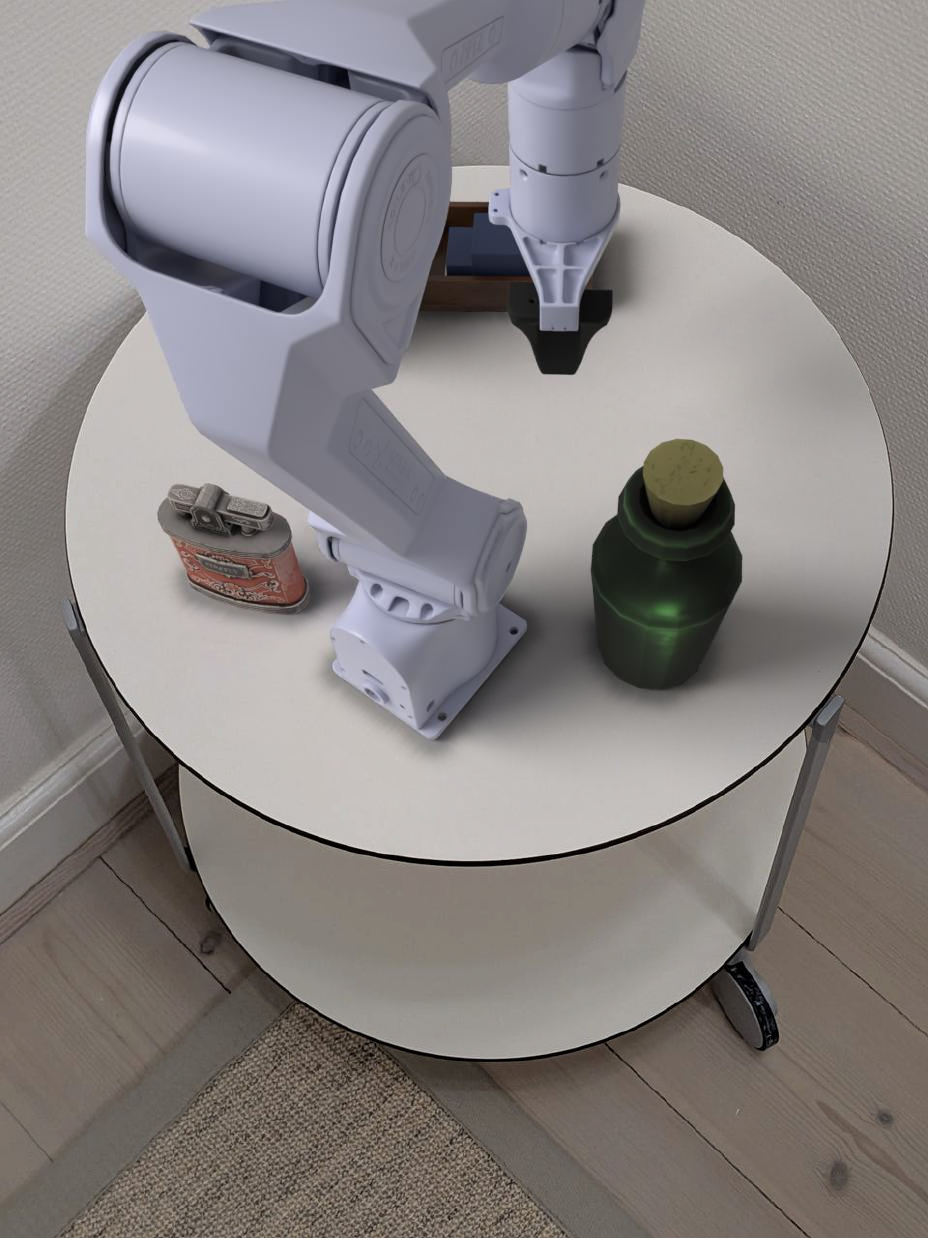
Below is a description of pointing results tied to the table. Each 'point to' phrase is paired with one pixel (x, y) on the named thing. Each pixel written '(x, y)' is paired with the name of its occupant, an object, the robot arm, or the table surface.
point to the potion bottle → (666, 567)
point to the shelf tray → (466, 289)
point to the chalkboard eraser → (484, 250)
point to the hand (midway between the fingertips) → (560, 319)
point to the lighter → (234, 549)
